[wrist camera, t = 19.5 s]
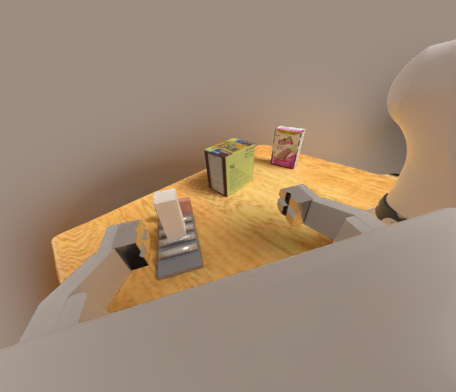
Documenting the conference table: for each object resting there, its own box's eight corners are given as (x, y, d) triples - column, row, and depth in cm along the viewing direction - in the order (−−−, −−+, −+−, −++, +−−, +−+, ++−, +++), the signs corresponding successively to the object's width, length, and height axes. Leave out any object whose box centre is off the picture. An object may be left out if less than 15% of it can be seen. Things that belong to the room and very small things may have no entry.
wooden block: (185, 224, 46) (175, 188, 39) (186, 236, 43) (176, 199, 36) (168, 228, 45) (154, 192, 38) (168, 241, 42) (153, 204, 35)
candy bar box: (270, 164, 80) (274, 128, 70) (274, 160, 83) (279, 125, 73) (293, 169, 74) (302, 131, 65) (297, 165, 78) (305, 128, 68)
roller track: (192, 212, 55) (189, 196, 51) (203, 267, 39) (199, 251, 35) (160, 219, 53) (154, 203, 49) (158, 280, 37) (150, 264, 33)
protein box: (253, 180, 69) (255, 143, 59) (227, 197, 60) (225, 157, 51) (234, 172, 75) (233, 137, 65) (208, 187, 66) (203, 149, 57)
